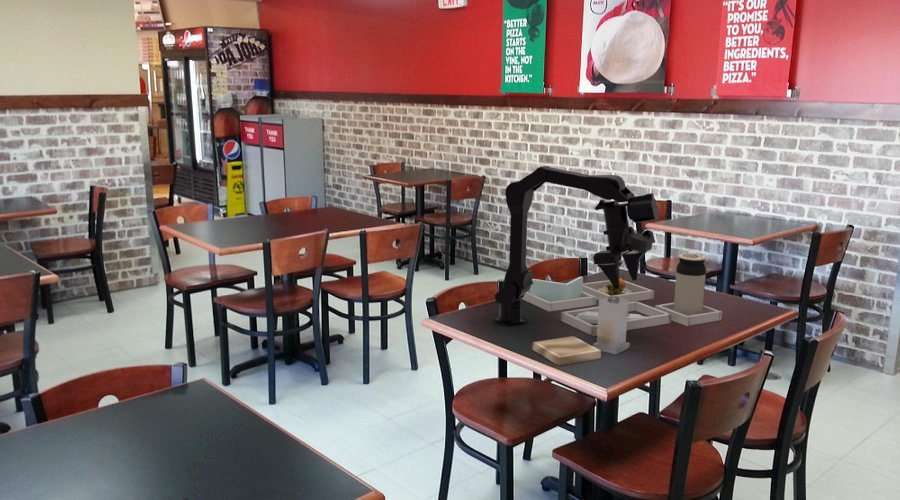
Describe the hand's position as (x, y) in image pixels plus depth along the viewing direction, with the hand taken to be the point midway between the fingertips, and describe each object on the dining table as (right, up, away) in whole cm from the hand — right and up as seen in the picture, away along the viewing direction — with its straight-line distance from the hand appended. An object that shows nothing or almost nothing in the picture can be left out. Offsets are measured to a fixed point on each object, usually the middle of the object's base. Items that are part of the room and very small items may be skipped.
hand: (626, 284), depth 189 cm
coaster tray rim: (-12, -7, +39) cm, 41 cm away
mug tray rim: (+23, -10, +23) cm, 35 cm away
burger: (+7, -6, +46) cm, 47 cm away
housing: (-5, -16, -3) cm, 17 cm away
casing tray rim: (+1, -11, +18) cm, 21 cm away
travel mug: (+23, -11, +23) cm, 35 cm away
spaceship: (+1, -12, +19) cm, 22 cm away
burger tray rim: (+7, -6, +46) cm, 47 cm away
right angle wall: (-12, -7, +39) cm, 41 cm away
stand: (-17, -17, -8) cm, 25 cm away
